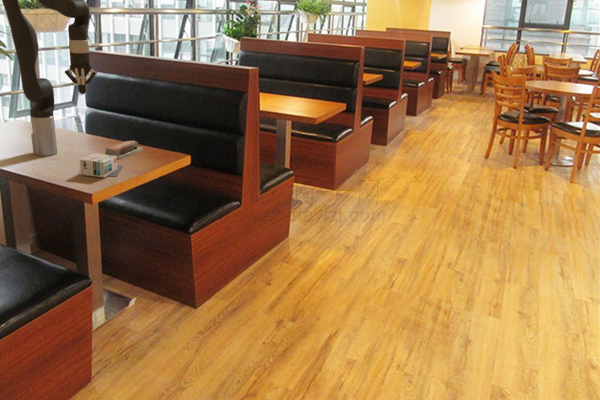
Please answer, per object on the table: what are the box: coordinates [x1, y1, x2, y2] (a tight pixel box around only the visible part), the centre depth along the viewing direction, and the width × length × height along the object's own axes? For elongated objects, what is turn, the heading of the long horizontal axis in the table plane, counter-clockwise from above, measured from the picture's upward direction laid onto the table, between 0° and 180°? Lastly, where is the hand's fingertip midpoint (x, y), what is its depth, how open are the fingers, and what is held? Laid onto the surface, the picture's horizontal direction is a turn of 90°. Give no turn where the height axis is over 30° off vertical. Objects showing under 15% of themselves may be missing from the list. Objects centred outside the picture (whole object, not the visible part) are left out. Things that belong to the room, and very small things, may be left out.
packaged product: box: [103, 140, 144, 160], centre depth 259 cm, size 18×5×10 cm
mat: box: [85, 164, 124, 177], centre depth 234 cm, size 12×14×1 cm
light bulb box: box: [79, 152, 118, 179], centre depth 229 cm, size 11×7×11 cm
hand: (82, 93), depth 234 cm, fingers closed
